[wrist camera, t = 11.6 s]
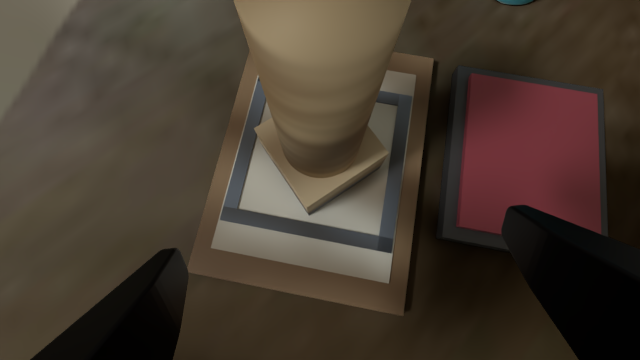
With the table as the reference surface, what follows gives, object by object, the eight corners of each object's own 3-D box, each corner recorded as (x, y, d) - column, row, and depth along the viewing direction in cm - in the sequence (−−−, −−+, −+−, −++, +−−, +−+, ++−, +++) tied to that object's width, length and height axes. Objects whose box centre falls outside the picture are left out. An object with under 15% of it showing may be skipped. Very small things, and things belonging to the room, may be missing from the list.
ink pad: (593, 268, 18) (615, 268, 17) (435, 238, 19) (445, 236, 17) (590, 97, 21) (608, 85, 20) (452, 74, 21) (461, 61, 20)
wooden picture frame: (400, 314, 18) (404, 316, 17) (190, 271, 18) (184, 272, 17) (430, 64, 21) (434, 56, 21) (257, 35, 22) (255, 26, 21)
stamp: (379, 168, 19) (485, 1, 7) (308, 215, 18) (286, 122, 6) (331, 105, 20) (349, -139, 8) (262, 147, 19) (167, -49, 7)
